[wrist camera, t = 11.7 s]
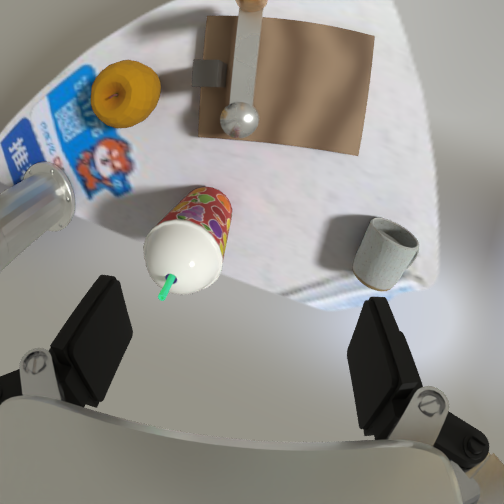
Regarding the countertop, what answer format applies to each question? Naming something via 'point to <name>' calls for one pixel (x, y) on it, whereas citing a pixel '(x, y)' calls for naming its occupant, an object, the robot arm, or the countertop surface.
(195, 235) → the smoothie
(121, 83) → the apple
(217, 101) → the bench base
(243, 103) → the lever
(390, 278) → the ceramic mug
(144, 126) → the countertop surface
